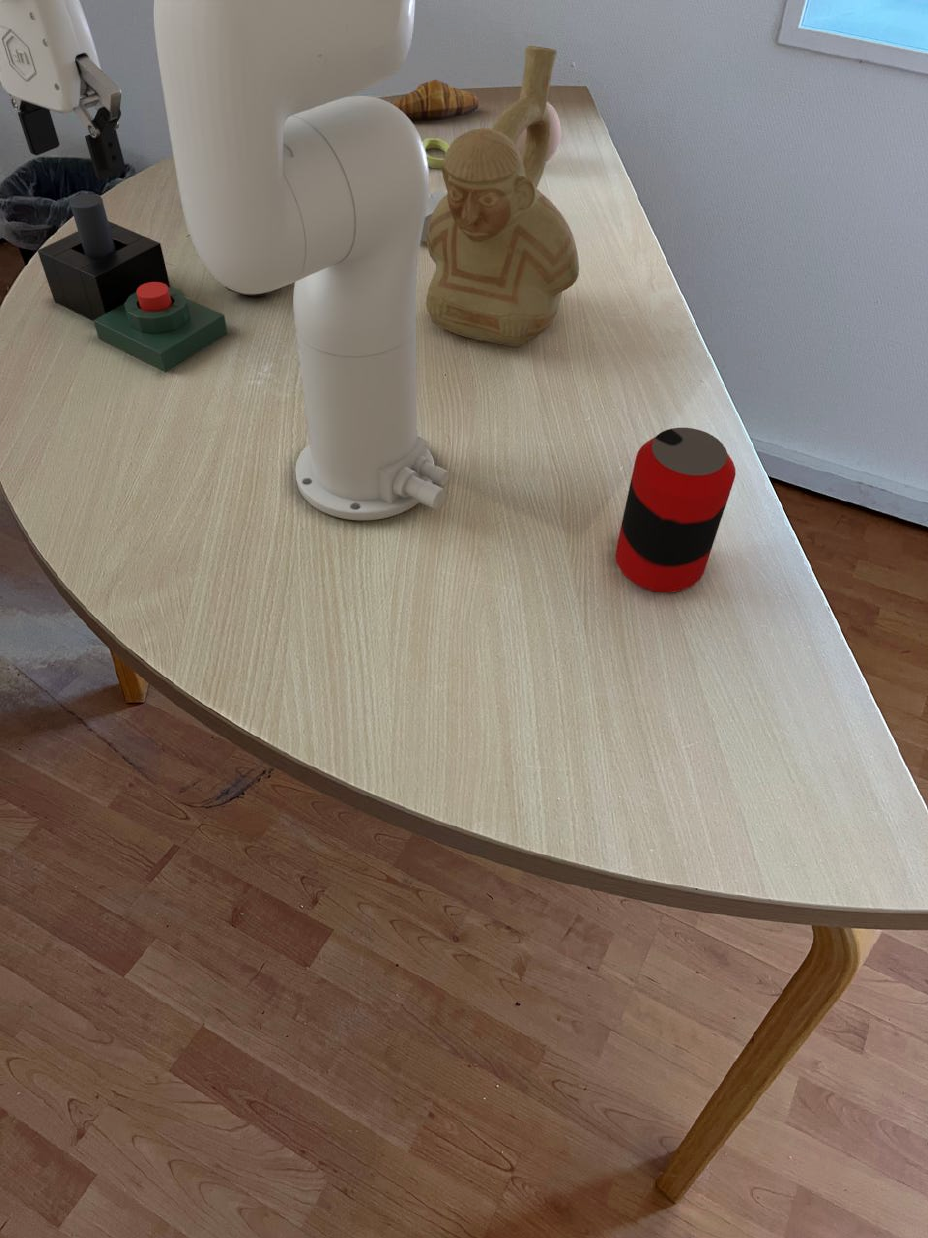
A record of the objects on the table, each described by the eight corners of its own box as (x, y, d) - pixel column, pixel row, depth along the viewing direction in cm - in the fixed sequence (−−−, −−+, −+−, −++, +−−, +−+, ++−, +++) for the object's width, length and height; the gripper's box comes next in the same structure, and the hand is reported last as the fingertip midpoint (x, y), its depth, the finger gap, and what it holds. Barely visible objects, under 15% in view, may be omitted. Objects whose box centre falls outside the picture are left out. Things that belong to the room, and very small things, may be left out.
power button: (178, 303, 96) (175, 287, 95) (155, 316, 95) (151, 301, 93) (156, 293, 98) (153, 278, 96) (133, 306, 96) (129, 290, 94)
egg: (554, 152, 132) (560, 88, 126) (561, 174, 127) (568, 109, 121) (504, 152, 131) (507, 88, 125) (509, 174, 127) (513, 109, 121)
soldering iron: (134, 297, 104) (108, 199, 95) (112, 309, 102) (84, 210, 94) (114, 287, 105) (87, 190, 97) (92, 299, 103) (62, 201, 95)
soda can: (654, 519, 82) (682, 407, 73) (722, 566, 79) (760, 455, 69) (596, 558, 79) (618, 446, 70) (664, 609, 75) (696, 498, 66)
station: (227, 333, 100) (221, 299, 96) (165, 371, 95) (156, 337, 92) (162, 302, 103) (154, 269, 100) (98, 338, 98) (88, 304, 95)
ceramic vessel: (390, 340, 99) (381, 87, 81) (466, 259, 111) (474, 22, 92) (536, 383, 95) (563, 126, 76) (600, 294, 107) (636, 52, 88)
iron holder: (172, 293, 104) (160, 242, 100) (110, 328, 99) (94, 276, 95) (117, 269, 108) (103, 218, 103) (54, 301, 103) (37, 250, 98)
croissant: (469, 102, 143) (470, 66, 139) (485, 119, 139) (486, 82, 135) (385, 111, 140) (384, 75, 136) (399, 129, 136) (398, 92, 132)
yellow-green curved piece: (362, 156, 129) (361, 140, 128) (444, 145, 133) (444, 129, 131) (379, 178, 125) (379, 162, 123) (463, 166, 128) (464, 150, 127)
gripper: (-82, -52, 80) (-10, 153, 93) (48, -17, 74) (107, 198, 87) (-9, -69, 84) (51, 130, 97) (121, -38, 78) (167, 171, 91)
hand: (78, 162), depth 92 cm, fingers open, 9 cm apart
